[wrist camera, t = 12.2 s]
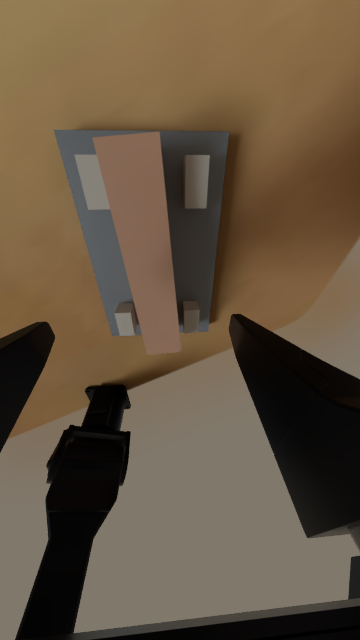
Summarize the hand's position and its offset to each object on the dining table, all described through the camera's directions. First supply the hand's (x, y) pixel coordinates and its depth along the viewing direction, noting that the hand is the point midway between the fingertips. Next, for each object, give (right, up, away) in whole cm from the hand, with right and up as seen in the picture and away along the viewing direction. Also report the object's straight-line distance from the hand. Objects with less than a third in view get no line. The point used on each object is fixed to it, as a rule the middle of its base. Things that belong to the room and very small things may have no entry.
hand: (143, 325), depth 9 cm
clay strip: (-1, +6, +9) cm, 11 cm away
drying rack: (-1, +7, +10) cm, 12 cm away
